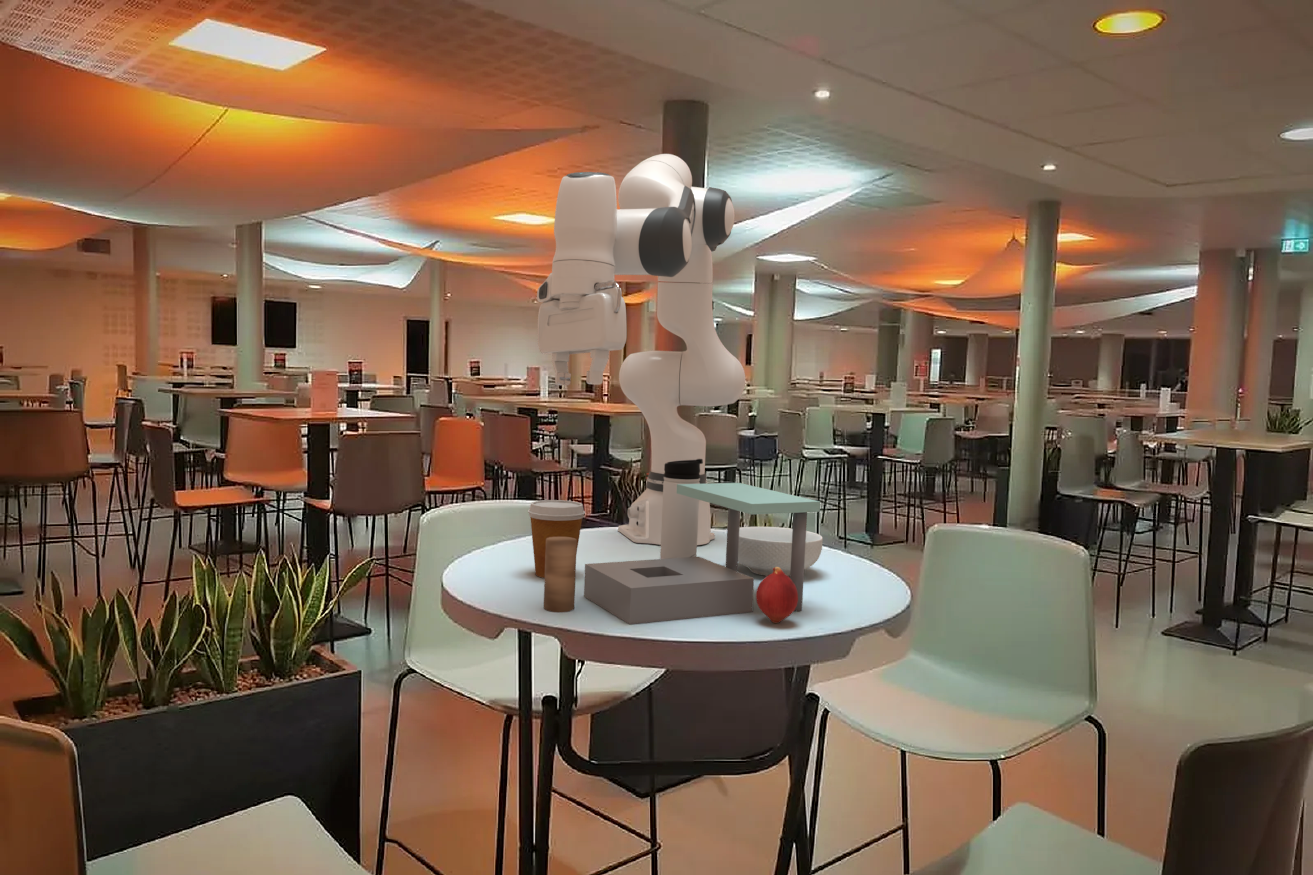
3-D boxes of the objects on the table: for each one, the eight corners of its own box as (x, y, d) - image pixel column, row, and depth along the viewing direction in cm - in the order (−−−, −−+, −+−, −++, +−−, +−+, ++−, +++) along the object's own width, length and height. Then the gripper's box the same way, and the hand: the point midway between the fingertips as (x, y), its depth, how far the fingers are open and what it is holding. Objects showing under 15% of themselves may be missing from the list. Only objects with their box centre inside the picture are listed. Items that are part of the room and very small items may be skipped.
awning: (672, 584, 147) (676, 484, 146) (734, 579, 153) (739, 482, 152) (746, 618, 128) (752, 503, 127) (814, 611, 134) (820, 501, 132)
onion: (774, 615, 131) (776, 560, 130) (805, 624, 126) (808, 568, 126) (746, 621, 127) (749, 565, 126) (777, 630, 123) (780, 573, 122)
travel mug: (694, 578, 152) (699, 460, 151) (656, 575, 154) (661, 458, 152) (700, 571, 158) (705, 457, 157) (663, 567, 160) (668, 455, 158)
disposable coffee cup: (527, 581, 145) (529, 507, 144) (524, 568, 154) (526, 499, 154) (586, 581, 147) (588, 508, 146) (579, 568, 156) (582, 500, 155)
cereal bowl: (840, 576, 159) (842, 536, 159) (776, 587, 148) (778, 545, 148) (770, 558, 172) (771, 522, 172) (706, 567, 161) (708, 528, 161)
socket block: (583, 596, 137) (585, 564, 137) (697, 586, 146) (698, 556, 146) (629, 624, 123) (631, 588, 122) (752, 611, 132) (753, 578, 132)
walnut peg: (539, 605, 131) (541, 537, 130) (567, 603, 133) (569, 536, 132) (550, 613, 127) (552, 543, 126) (578, 610, 129) (581, 541, 128)
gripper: (640, 281, 120) (635, 385, 120) (569, 296, 137) (565, 387, 137) (599, 275, 116) (594, 382, 116) (531, 290, 133) (527, 384, 134)
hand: (577, 384), depth 127 cm, fingers open, 8 cm apart
